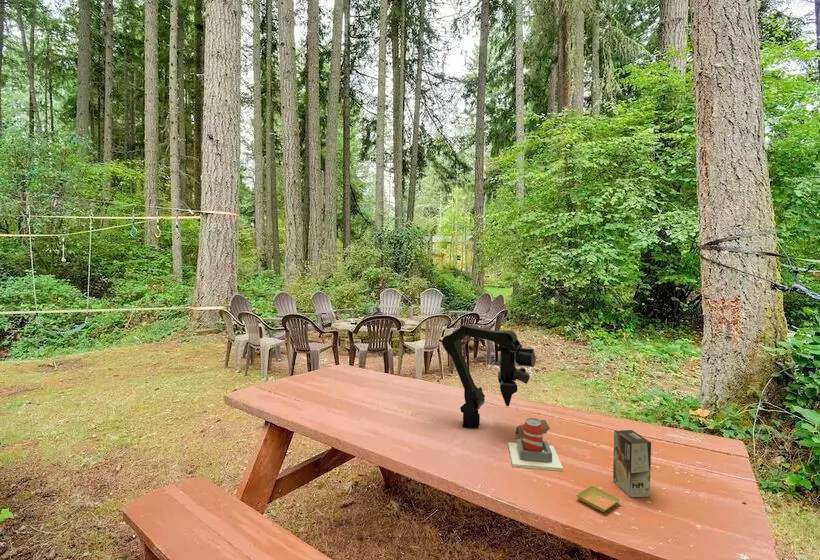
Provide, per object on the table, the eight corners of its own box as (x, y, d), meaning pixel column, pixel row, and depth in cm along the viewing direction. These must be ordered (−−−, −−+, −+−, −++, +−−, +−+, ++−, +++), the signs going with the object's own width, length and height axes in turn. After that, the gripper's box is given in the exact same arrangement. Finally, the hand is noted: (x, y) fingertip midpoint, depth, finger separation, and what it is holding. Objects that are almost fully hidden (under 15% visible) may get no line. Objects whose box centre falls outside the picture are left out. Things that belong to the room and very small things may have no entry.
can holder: (512, 466, 131) (512, 455, 131) (508, 445, 147) (508, 434, 146) (562, 471, 128) (563, 459, 128) (553, 448, 144) (553, 437, 144)
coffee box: (651, 496, 114) (652, 442, 114) (630, 498, 114) (632, 443, 113) (631, 479, 123) (632, 429, 123) (611, 480, 123) (612, 430, 122)
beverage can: (543, 450, 139) (543, 419, 136) (540, 460, 133) (541, 428, 131) (525, 446, 141) (526, 415, 139) (522, 456, 136) (522, 424, 134)
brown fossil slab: (528, 444, 148) (528, 441, 148) (503, 435, 156) (503, 432, 156) (559, 425, 166) (559, 423, 166) (535, 418, 174) (535, 415, 173)
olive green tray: (591, 491, 118) (591, 484, 118) (620, 506, 111) (621, 498, 110) (575, 501, 113) (575, 494, 113) (604, 517, 106) (604, 509, 106)
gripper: (531, 370, 144) (530, 412, 145) (525, 358, 163) (524, 395, 163) (500, 368, 146) (500, 410, 147) (498, 357, 165) (497, 393, 165)
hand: (506, 401), depth 156 cm, fingers open, 9 cm apart
